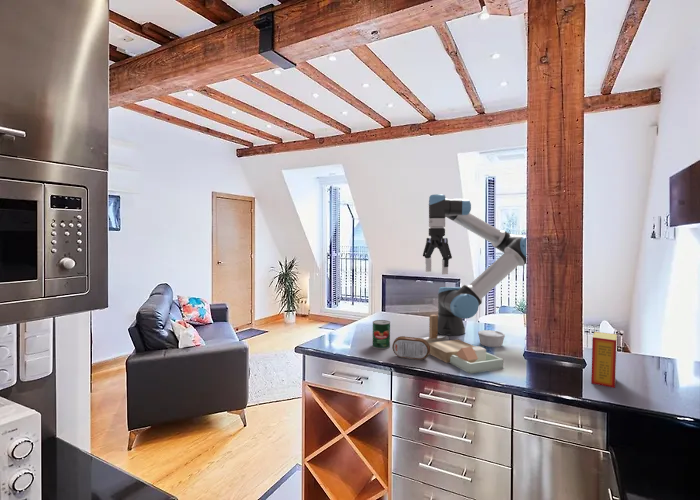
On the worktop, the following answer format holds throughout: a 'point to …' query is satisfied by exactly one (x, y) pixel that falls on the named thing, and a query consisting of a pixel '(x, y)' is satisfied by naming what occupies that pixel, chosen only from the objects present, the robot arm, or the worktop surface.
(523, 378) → the worktop surface
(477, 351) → the cream block
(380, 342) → the canned tomato
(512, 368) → the worktop surface
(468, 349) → the terracotta block
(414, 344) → the tin
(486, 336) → the ramekin
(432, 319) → the scraper
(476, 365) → the box
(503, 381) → the worktop surface
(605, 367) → the baking soda box
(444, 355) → the tan flat block
